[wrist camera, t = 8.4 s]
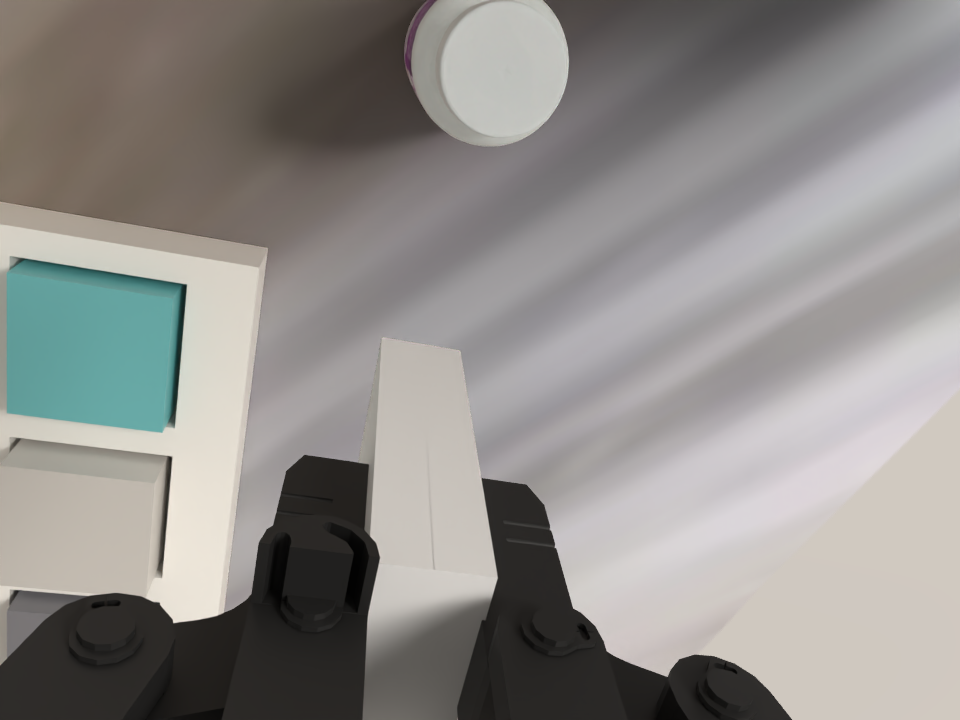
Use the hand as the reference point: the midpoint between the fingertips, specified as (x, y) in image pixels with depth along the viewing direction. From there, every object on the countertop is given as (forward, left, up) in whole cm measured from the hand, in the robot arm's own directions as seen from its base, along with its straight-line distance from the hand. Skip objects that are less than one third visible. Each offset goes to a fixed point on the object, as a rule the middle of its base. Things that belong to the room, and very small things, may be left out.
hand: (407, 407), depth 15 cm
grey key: (+11, +16, -19) cm, 27 cm away
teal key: (+11, +8, -20) cm, 24 cm away
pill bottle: (-2, -6, -21) cm, 22 cm away
